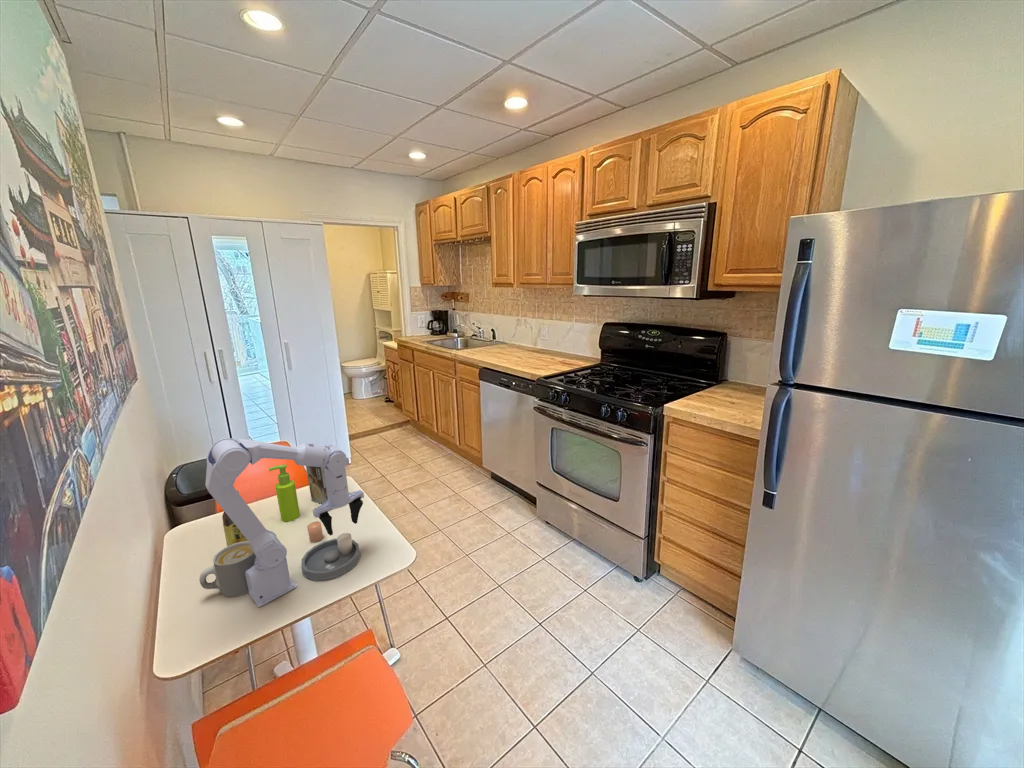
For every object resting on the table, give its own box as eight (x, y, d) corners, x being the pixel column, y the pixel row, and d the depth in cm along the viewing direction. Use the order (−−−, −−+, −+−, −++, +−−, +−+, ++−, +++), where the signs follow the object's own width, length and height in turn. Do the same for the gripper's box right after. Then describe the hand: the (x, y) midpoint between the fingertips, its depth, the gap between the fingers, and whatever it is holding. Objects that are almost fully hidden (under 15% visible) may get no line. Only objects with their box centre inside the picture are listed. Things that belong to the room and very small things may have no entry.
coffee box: (340, 498, 155) (335, 460, 151) (326, 506, 149) (320, 467, 145) (324, 493, 159) (319, 455, 155) (310, 500, 154) (304, 462, 150)
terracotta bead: (313, 544, 128) (311, 530, 127) (307, 539, 130) (304, 526, 129) (325, 537, 131) (323, 524, 130) (319, 533, 133) (316, 520, 132)
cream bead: (342, 557, 120) (340, 542, 119) (336, 551, 123) (334, 537, 121) (355, 550, 123) (353, 536, 121) (349, 545, 125) (347, 531, 124)
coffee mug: (263, 566, 118) (258, 537, 115) (262, 588, 109) (255, 557, 107) (208, 583, 112) (200, 552, 109) (201, 607, 103) (193, 574, 101)
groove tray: (316, 590, 109) (315, 582, 108) (292, 564, 119) (291, 556, 118) (370, 559, 120) (369, 552, 120) (344, 538, 130) (343, 531, 130)
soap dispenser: (278, 515, 144) (269, 464, 139) (300, 511, 147) (291, 460, 142) (277, 524, 139) (267, 471, 134) (299, 519, 142) (290, 467, 137)
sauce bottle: (241, 558, 122) (228, 500, 117) (223, 556, 123) (210, 498, 118) (258, 545, 128) (247, 489, 123) (241, 543, 129) (229, 487, 124)
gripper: (353, 473, 125) (358, 512, 128) (305, 492, 114) (312, 533, 118) (365, 480, 120) (370, 520, 124) (316, 500, 110) (323, 543, 113)
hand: (342, 527), depth 121 cm, fingers open, 7 cm apart
